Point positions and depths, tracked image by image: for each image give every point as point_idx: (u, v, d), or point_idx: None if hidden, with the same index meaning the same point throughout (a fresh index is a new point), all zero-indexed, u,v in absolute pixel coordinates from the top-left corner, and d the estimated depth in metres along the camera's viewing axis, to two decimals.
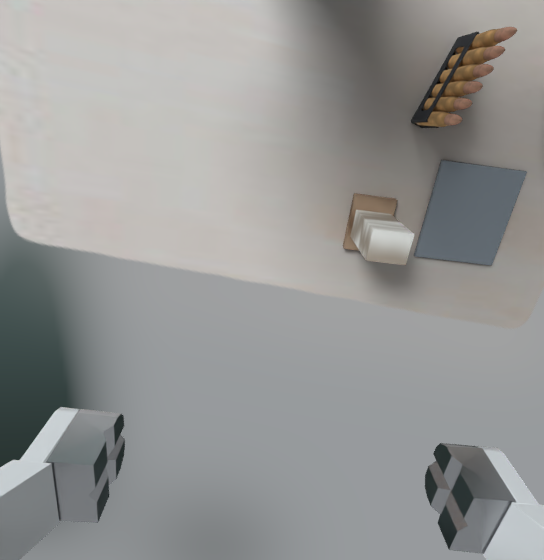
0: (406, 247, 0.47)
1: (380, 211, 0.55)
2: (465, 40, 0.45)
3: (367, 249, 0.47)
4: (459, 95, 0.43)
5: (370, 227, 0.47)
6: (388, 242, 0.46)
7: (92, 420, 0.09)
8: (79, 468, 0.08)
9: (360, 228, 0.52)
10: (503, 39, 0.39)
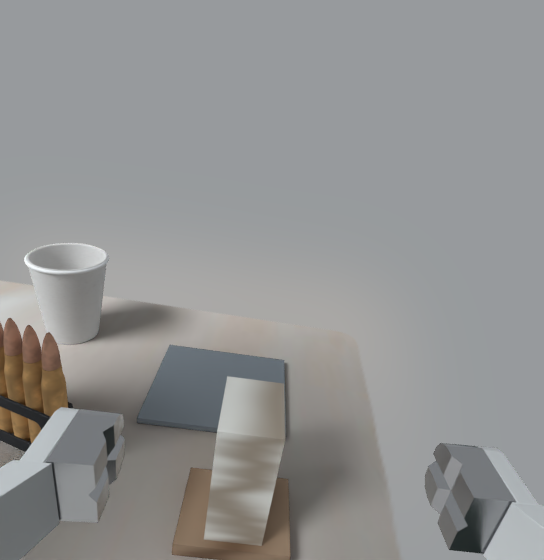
0: (251, 383, 0.27)
1: (209, 493, 0.30)
2: None
3: (261, 442, 0.23)
4: None
5: (217, 448, 0.23)
6: (243, 407, 0.24)
7: (92, 420, 0.09)
8: (79, 468, 0.08)
9: (232, 498, 0.25)
10: None
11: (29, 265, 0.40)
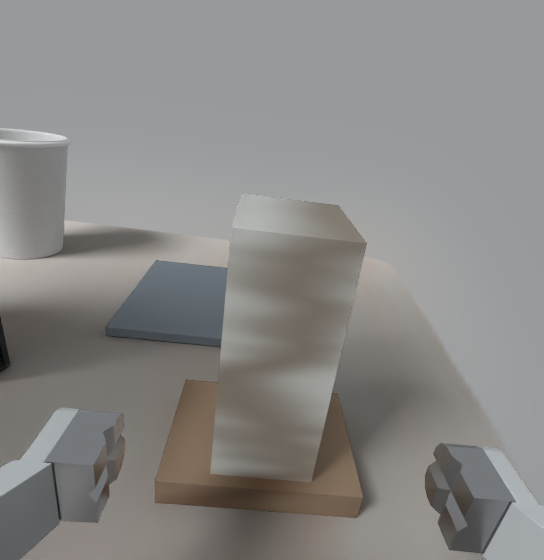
0: (284, 200, 0.15)
1: None
2: None
3: (319, 251, 0.11)
4: None
5: (232, 270, 0.12)
6: (277, 214, 0.13)
7: (92, 420, 0.09)
8: (79, 468, 0.08)
9: (261, 387, 0.13)
10: None
11: None
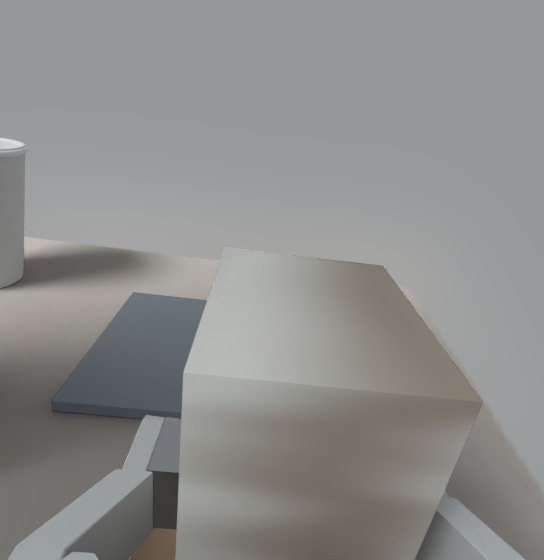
0: (295, 261, 0.09)
1: None
2: None
3: (377, 416, 0.05)
4: None
5: (191, 448, 0.06)
6: (284, 306, 0.07)
7: (180, 428, 0.09)
8: (178, 476, 0.08)
9: None
10: None
11: None
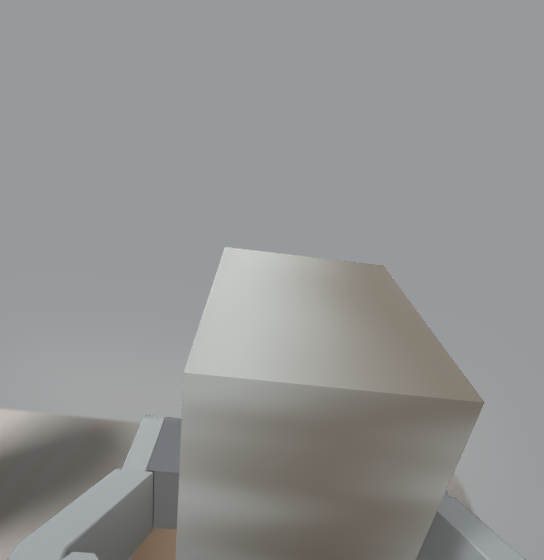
0: (295, 261, 0.09)
1: None
2: None
3: (378, 416, 0.05)
4: None
5: (192, 449, 0.05)
6: (284, 306, 0.07)
7: (180, 428, 0.09)
8: (178, 477, 0.08)
9: None
10: None
11: None
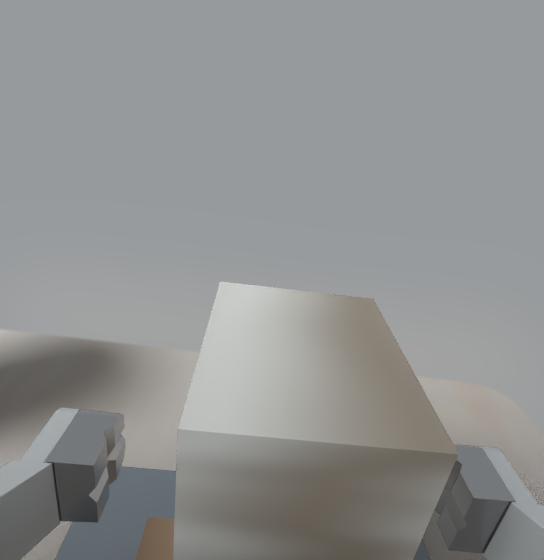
0: (287, 296, 0.10)
1: None
2: None
3: (359, 467, 0.06)
4: None
5: (186, 495, 0.06)
6: (275, 349, 0.07)
7: (92, 420, 0.09)
8: (79, 468, 0.08)
9: None
10: None
11: None
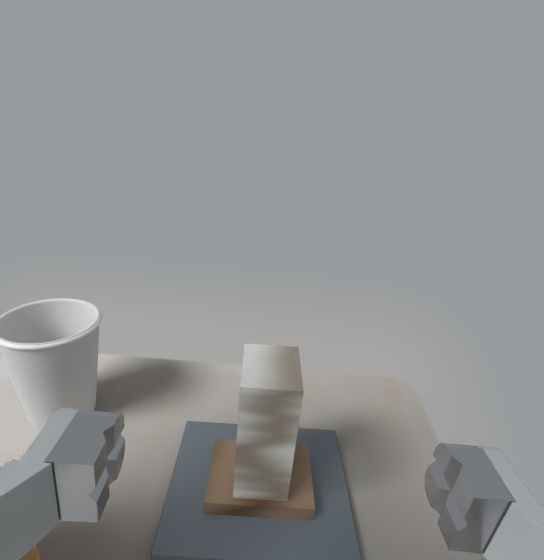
0: (267, 348, 0.28)
1: (234, 458, 0.31)
2: None
3: (281, 395, 0.25)
4: None
5: (241, 403, 0.25)
6: (262, 367, 0.26)
7: (92, 420, 0.09)
8: (79, 468, 0.08)
9: (257, 454, 0.27)
10: None
11: None
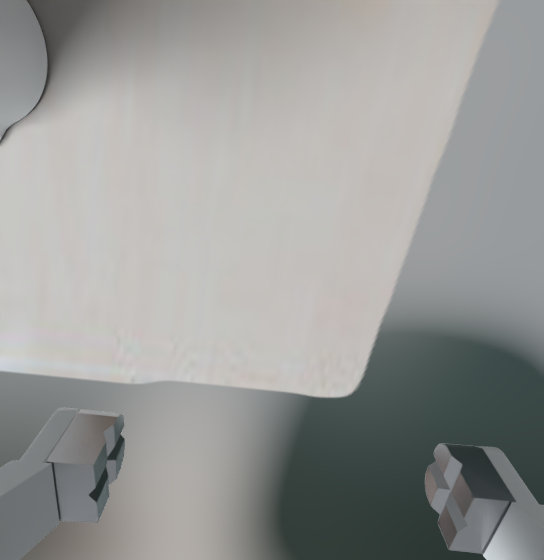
0: None
1: None
2: None
3: None
4: None
5: None
6: None
7: (92, 420, 0.09)
8: (79, 468, 0.08)
9: None
10: None
11: None
